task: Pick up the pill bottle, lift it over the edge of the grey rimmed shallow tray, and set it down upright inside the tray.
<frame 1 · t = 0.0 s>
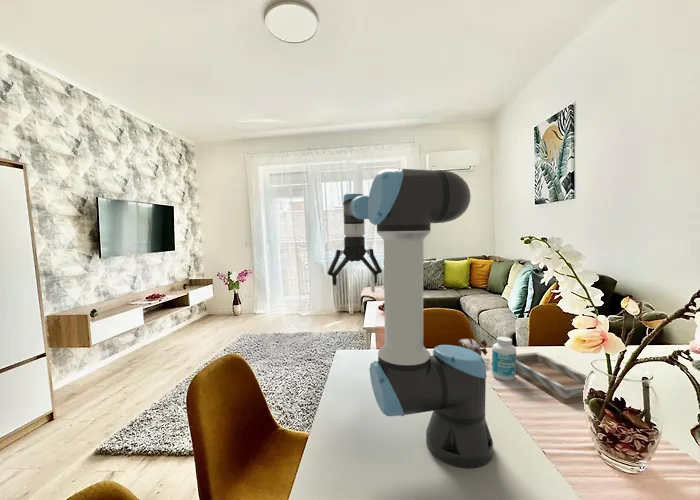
hand: (355, 293, 121), 28 cm above the table, fingers open, 13 cm apart
pill bottle: (503, 377, 112), on the table
grey rimmed shallow tray: (549, 380, 109), on the table
decorative duck model: (465, 359, 128), on the table
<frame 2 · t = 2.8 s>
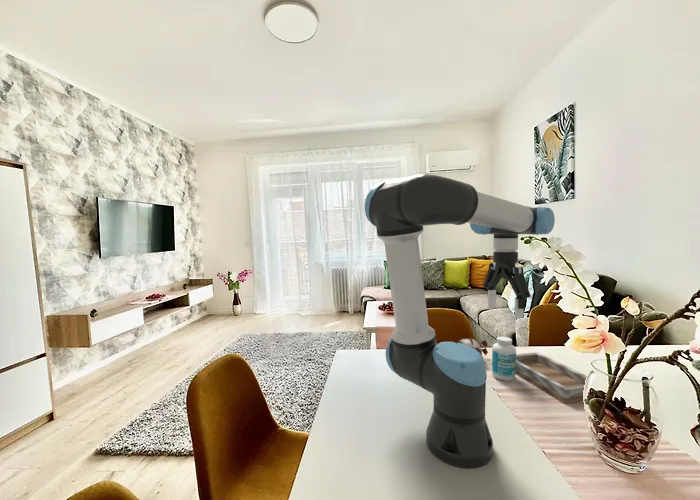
hand: (504, 312, 111), 22 cm above the table, fingers open, 13 cm apart
nothing on the table moved.
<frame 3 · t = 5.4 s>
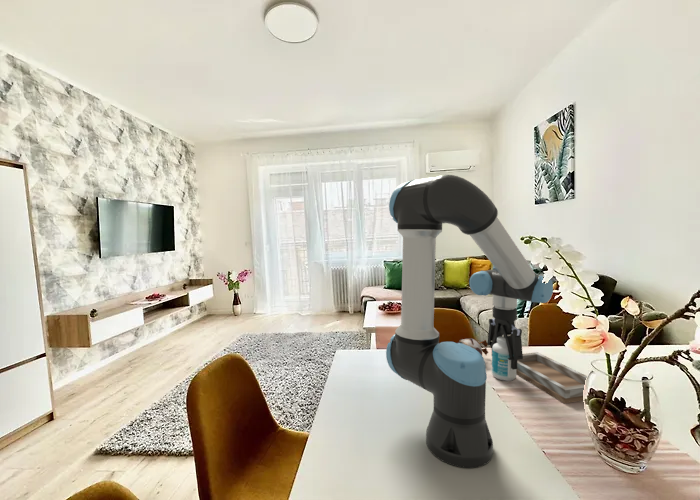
hand: (503, 372, 112), 2 cm above the table, fingers closed on pill bottle, 7 cm apart
pill bottle: (503, 377, 112), on the table, touching gripper
everything else where it was.
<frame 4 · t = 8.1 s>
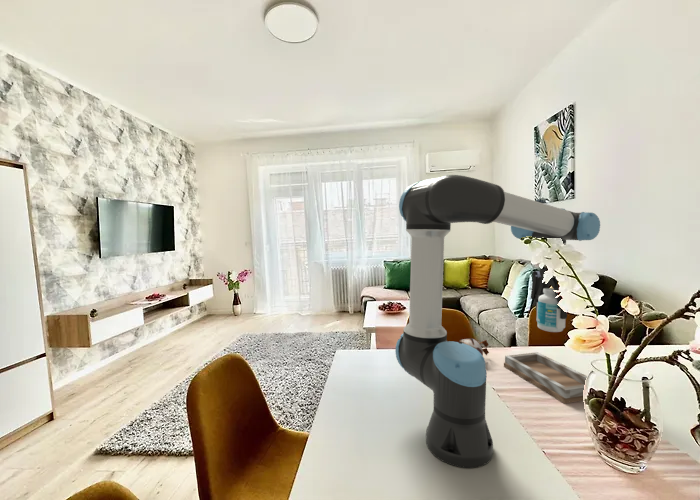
hand: (550, 324, 108), 19 cm above the table, fingers closed on pill bottle, 7 cm apart
pill bottle: (550, 329, 108), point 17 cm above the table, touching gripper
everything else where it was.
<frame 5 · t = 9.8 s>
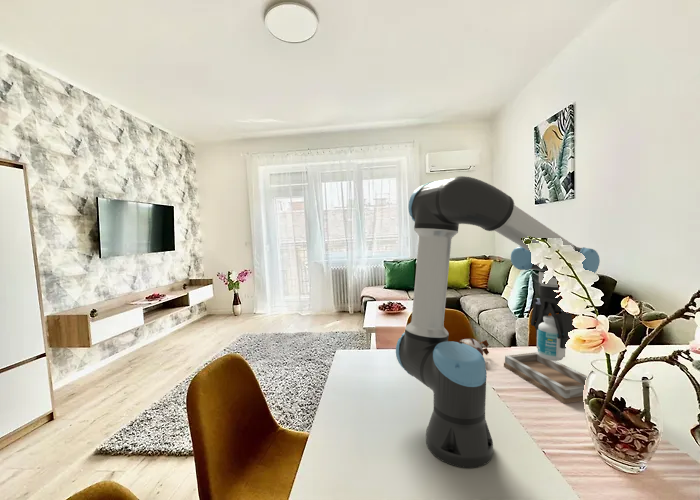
hand: (550, 352, 108), 10 cm above the table, fingers closed on pill bottle, 7 cm apart
pill bottle: (550, 357, 109), point 8 cm above the table, touching gripper
everything else where it was.
when the fingers open (5 cm above the table, at t = 11.1 s): pill bottle drops 2 cm, resting on grey rimmed shallow tray.
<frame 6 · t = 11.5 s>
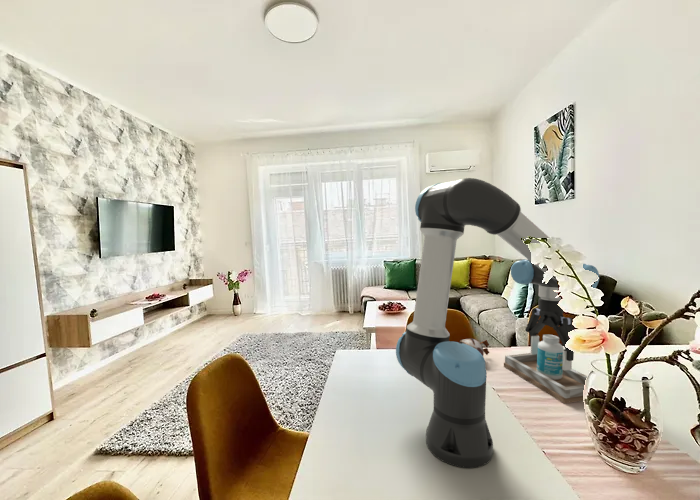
hand: (549, 361, 109), 7 cm above the table, fingers open, 12 cm apart
pill bottle: (549, 376, 109), point 1 cm above the table, touching grey rimmed shallow tray
everything else where it was.
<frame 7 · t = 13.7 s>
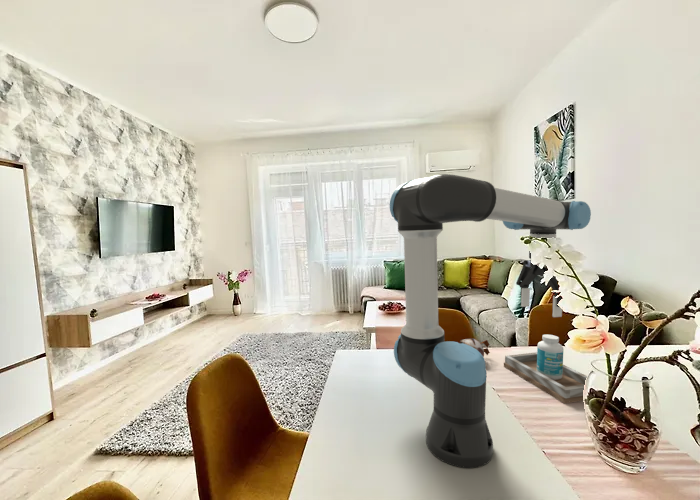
hand: (540, 311, 108), 24 cm above the table, fingers open, 13 cm apart
nothing on the table moved.
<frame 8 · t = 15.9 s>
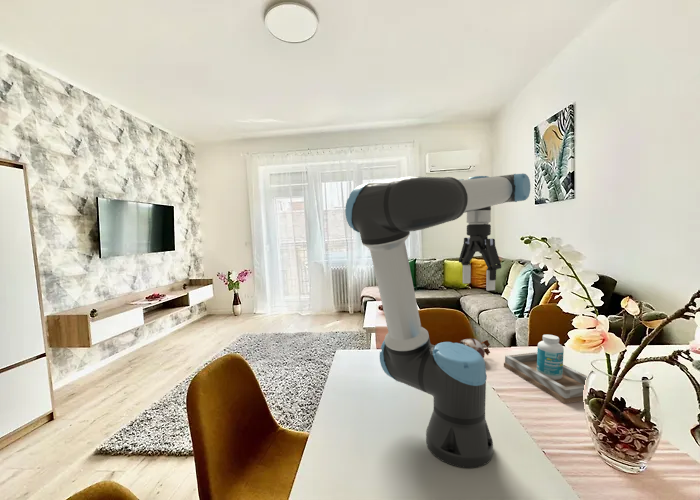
hand: (477, 286, 110), 32 cm above the table, fingers open, 13 cm apart
at the end: pill bottle inside the target area on the grey rimmed shallow tray (0.0 cm from its centre), point 1.3 cm above the grey rimmed shallow tray's base; pill bottle tilted 0°; the gripper is holding nothing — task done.
